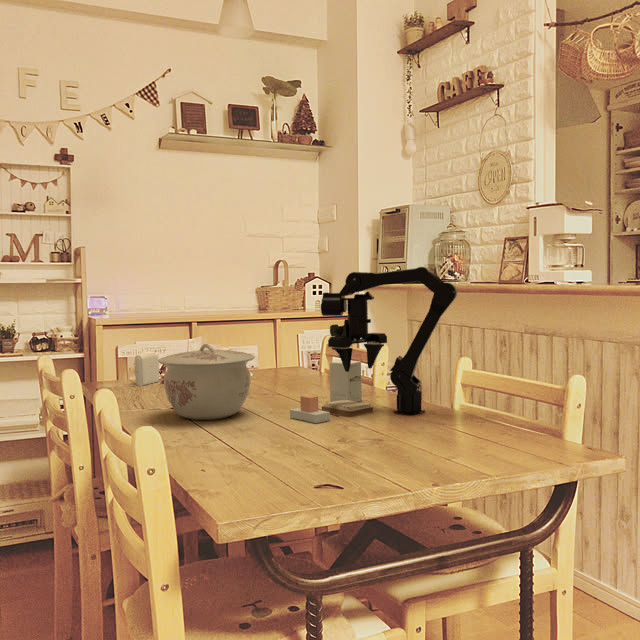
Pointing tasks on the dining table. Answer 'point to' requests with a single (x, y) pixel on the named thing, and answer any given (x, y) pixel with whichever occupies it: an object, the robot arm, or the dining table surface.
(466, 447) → the dining table surface
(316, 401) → the stub
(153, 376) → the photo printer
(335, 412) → the pad
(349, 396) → the supplement box
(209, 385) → the chamber pot
